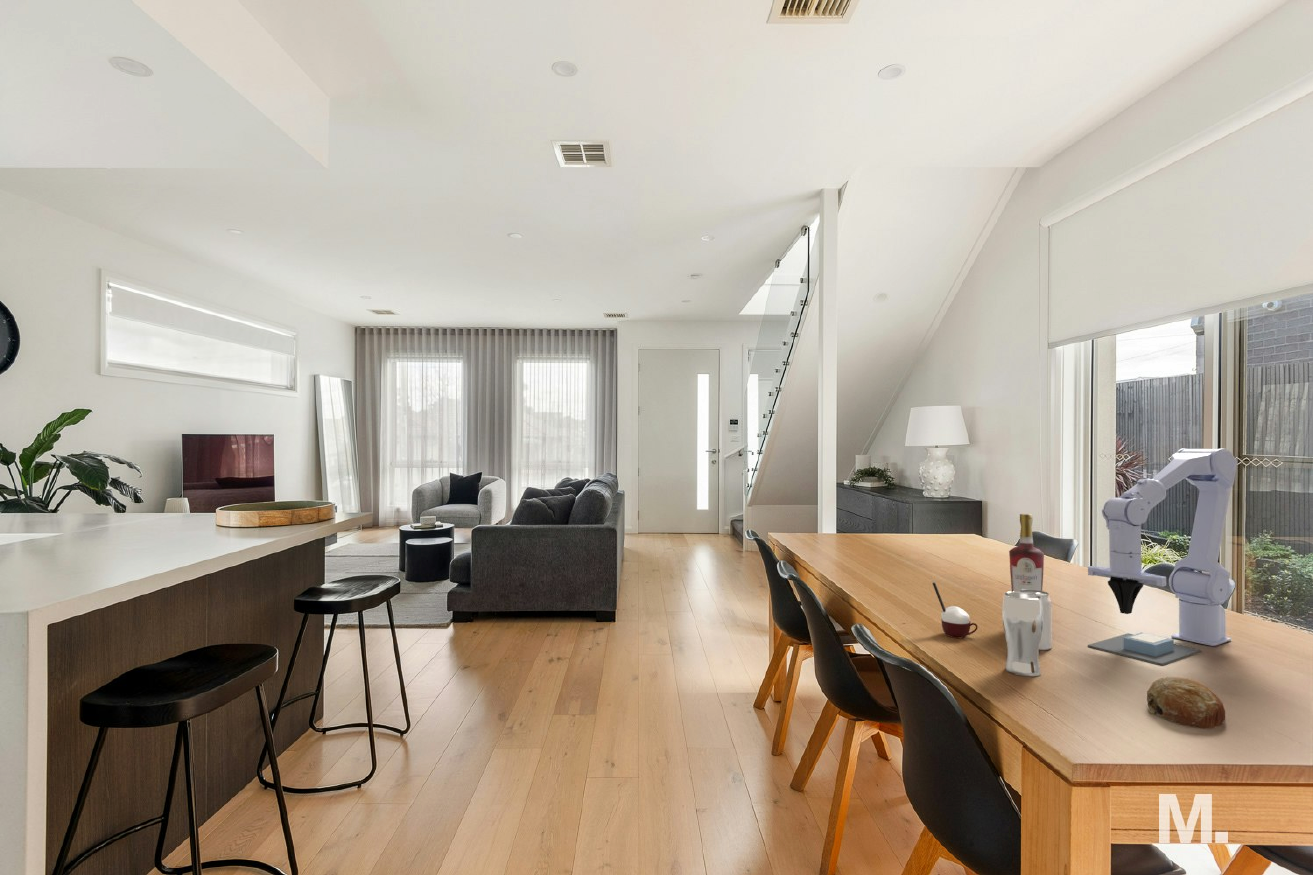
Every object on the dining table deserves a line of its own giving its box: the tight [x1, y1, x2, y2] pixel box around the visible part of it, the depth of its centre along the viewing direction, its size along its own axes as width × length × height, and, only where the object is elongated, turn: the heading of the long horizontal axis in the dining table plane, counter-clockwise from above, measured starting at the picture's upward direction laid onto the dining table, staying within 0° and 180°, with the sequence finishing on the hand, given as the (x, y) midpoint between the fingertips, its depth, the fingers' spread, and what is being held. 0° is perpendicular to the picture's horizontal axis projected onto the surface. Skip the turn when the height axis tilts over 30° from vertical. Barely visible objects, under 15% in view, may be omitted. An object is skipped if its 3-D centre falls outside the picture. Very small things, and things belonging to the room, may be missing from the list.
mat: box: [1087, 632, 1203, 666], centre depth 139 cm, size 18×14×1 cm
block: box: [1124, 632, 1175, 657], centre depth 137 cm, size 8×3×6 cm
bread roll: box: [1146, 676, 1226, 729], centre depth 105 cm, size 10×10×8 cm
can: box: [1020, 589, 1052, 651], centre depth 141 cm, size 6×6×12 cm
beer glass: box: [1002, 591, 1043, 678], centre depth 125 cm, size 7×7×15 cm
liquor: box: [1008, 513, 1045, 592], centre depth 154 cm, size 7×7×28 cm
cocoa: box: [932, 580, 978, 639], centre depth 149 cm, size 10×6×12 cm, turn 41°
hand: (1126, 612), depth 141 cm, fingers closed
